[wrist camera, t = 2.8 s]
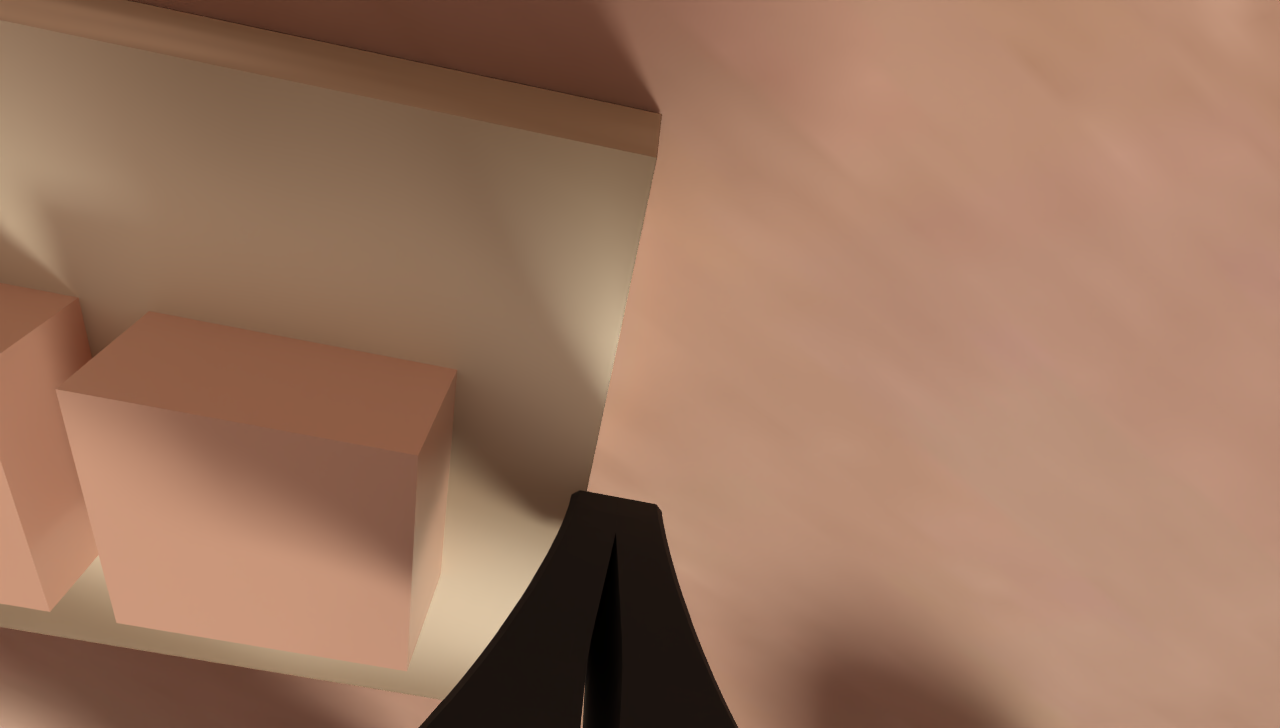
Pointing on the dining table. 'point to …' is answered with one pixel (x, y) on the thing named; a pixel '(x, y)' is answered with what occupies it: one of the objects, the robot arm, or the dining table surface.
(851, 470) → the dining table surface
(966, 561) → the dining table surface
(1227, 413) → the dining table surface
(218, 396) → the tile
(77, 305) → the tile
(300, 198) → the plate
